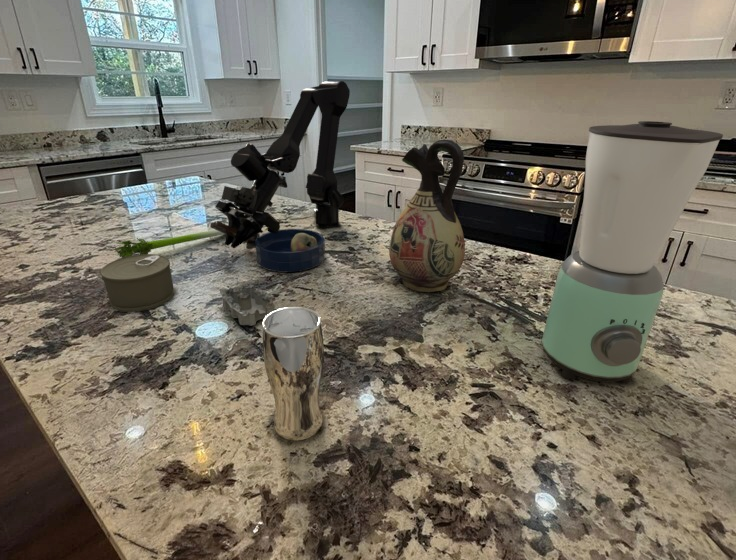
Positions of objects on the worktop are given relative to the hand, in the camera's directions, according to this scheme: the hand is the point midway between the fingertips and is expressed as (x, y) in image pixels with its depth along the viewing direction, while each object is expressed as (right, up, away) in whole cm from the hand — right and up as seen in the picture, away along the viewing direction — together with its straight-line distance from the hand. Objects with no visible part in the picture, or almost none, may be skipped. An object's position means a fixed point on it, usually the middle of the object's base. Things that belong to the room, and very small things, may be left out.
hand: (229, 246), depth 100 cm
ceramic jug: (+45, -9, -11) cm, 48 cm away
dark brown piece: (+5, +1, +6) cm, 8 cm away
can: (-12, -11, -17) cm, 24 cm away
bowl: (+15, -3, +1) cm, 15 cm away
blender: (+66, -20, -34) cm, 77 cm away
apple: (+16, -1, 0) cm, 16 cm away
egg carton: (+10, -14, -22) cm, 28 cm away
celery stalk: (-15, 0, +7) cm, 17 cm away
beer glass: (+23, -25, -47) cm, 58 cm away
